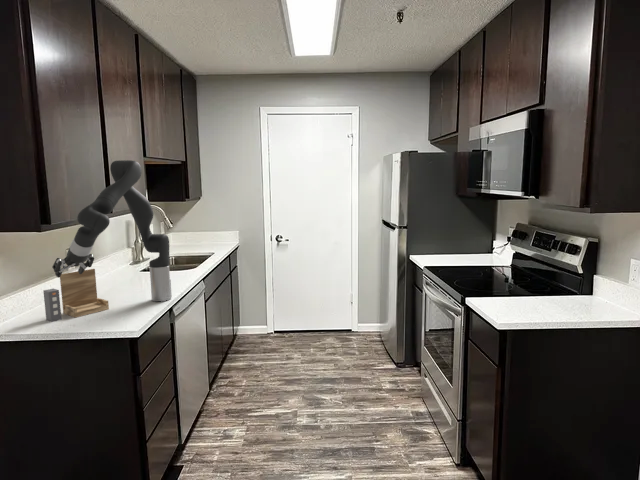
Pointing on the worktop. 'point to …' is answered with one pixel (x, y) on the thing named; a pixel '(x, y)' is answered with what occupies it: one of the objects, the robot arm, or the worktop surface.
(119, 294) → the worktop surface
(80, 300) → the wooden angled stand
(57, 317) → the power strip
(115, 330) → the worktop surface
